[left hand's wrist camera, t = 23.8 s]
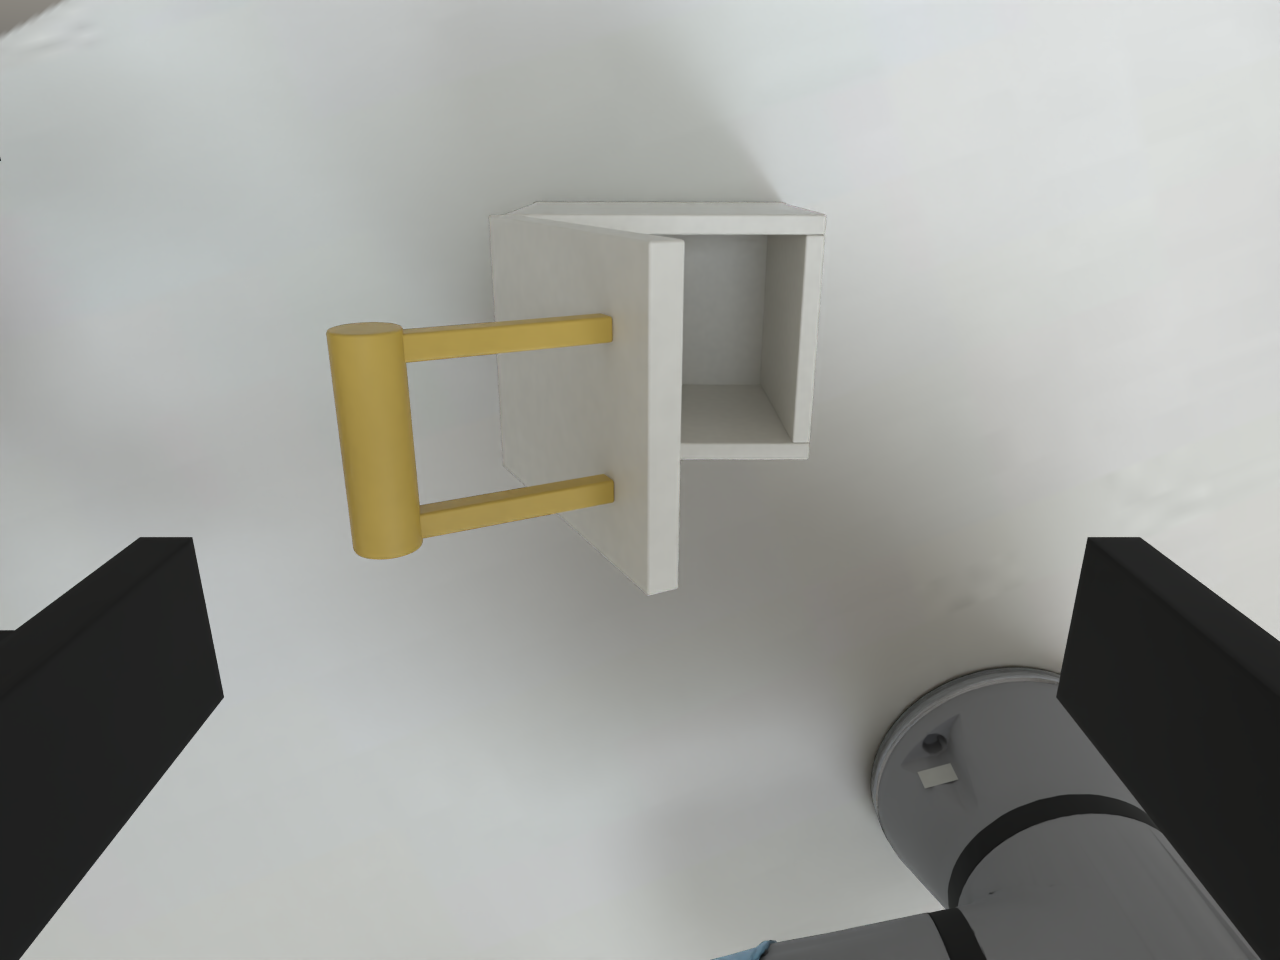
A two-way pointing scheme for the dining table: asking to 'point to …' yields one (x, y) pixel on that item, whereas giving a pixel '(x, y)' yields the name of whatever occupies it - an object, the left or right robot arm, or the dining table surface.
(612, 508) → the panel with yellow handle
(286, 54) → the dining table surface
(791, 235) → the chest
